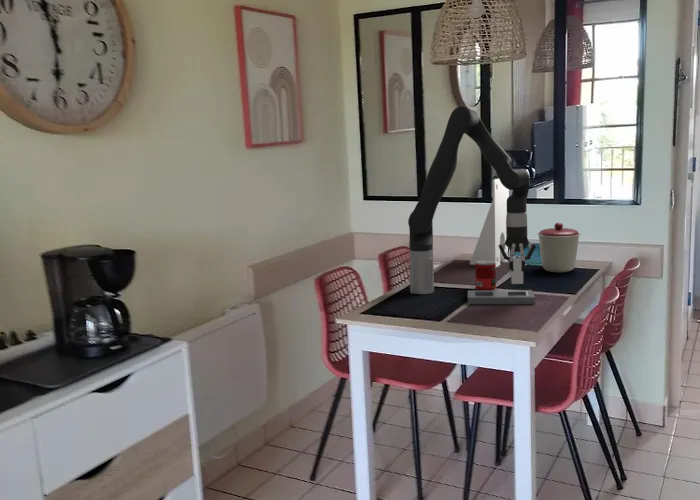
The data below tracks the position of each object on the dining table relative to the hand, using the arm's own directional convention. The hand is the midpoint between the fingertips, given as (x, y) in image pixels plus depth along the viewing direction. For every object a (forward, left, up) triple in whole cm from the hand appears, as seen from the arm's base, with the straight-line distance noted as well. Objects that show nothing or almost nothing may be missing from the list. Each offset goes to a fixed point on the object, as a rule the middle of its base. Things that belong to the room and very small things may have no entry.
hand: (517, 270), depth 255 cm
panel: (-6, 0, -11) cm, 13 cm away
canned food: (-11, +19, -12) cm, 25 cm away
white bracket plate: (-9, +70, -12) cm, 71 cm away
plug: (0, +1, -5) cm, 5 cm away
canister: (+21, +52, -12) cm, 57 cm away
